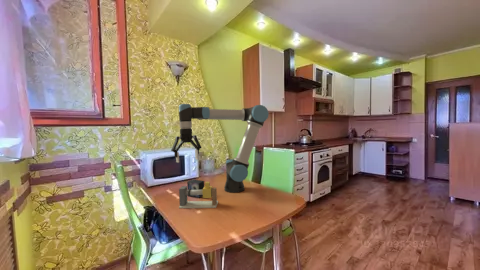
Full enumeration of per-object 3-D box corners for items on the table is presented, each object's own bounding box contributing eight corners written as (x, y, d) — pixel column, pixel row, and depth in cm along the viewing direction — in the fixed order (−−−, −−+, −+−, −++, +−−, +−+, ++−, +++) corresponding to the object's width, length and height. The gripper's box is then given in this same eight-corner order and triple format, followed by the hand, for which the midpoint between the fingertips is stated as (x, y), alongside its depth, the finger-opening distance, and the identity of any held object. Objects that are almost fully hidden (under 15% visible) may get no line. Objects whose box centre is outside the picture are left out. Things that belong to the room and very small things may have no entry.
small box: (187, 196, 141) (186, 181, 140) (193, 193, 146) (192, 179, 146) (199, 198, 136) (198, 183, 135) (205, 195, 141) (204, 180, 141)
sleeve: (212, 194, 126) (212, 181, 126) (211, 197, 121) (210, 183, 120) (204, 195, 126) (204, 181, 126) (202, 198, 121) (202, 183, 120)
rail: (218, 202, 128) (217, 184, 128) (216, 207, 119) (215, 189, 119) (183, 202, 129) (182, 185, 128) (178, 208, 120) (178, 189, 119)
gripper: (199, 127, 142) (201, 157, 143) (164, 129, 126) (166, 163, 127) (205, 127, 137) (207, 158, 138) (169, 128, 120) (171, 164, 121)
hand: (187, 160), depth 132 cm, fingers open, 13 cm apart
